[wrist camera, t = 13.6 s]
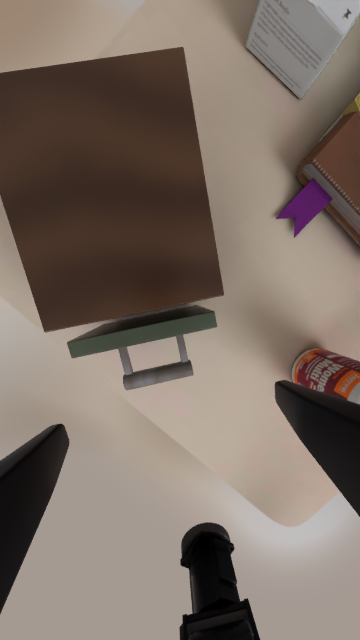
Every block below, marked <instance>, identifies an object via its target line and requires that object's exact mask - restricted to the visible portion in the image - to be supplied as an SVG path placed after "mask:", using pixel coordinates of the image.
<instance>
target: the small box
mask: <svg viewBox="0 0 360 640" xmlns="http://www.w3.org/2000/svg"><path fill="white" fill-rule="evenodd" d="M359 15H360V0H259V2H258V5H257V8H256V12H255V15H254V18H253V21H252V25H251V28H250V31H249V34H248V38H247V41H246V45H245V46H246V48H248V49H249V50H250V51H251V52H252V53H253V54H254V55H255V56H256V57H257V58H258V59H259V60H260V61H261V62H262V63H263V64H264V65H265V66H267V67H268V68H269V69H270V70H271V71H272V72H273V73H274V74H275V75H276V76H277V77H278V78H279V79H280V80H281V81H282V82H283V83H284V84H285V85H286V86H287V87H288V88H289V89H290V90H291V91H293V93H294V94H295V95H296V96H297V97H298V98H299V99H302V97H303V96H304V95H305V93H306V92H307V91H308V89H309V88H310V86H311V85H312V83H313V82H314V81H315V79H316V78H317V76H318V75H319V73H320V72H321V71H322V69H323V68H324V66H325V65H326V64H327V62H328V61H329V59H330V58H331V56H332V55H333V53H334V52H335V50H336V49H337V48H338V46H339V45H340V43H341V42H342V40H343V39H344V37H345V36H346V34H347V33H348V31H349V30H350V28H351V27H352V25H353V24H354V22H355V21H356V19H357V18H358V16H359Z"/></svg>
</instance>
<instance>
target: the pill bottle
mask: <svg viewBox="0 0 360 640" xmlns="http://www.w3.org/2000/svg"><path fill="white" fill-rule="evenodd" d="M292 379H293V382H294V383H296V384H299V385H302V386H305V387H308V388H311V389H314V390H317V391H320V392H324V393H327V394H330V395H333V396H336V397H339V398H342V399H345V400H348V401H351V402H354V403H357V404H360V362H359V361H356V360H353V359H350V358H348V357H345V356H342V355H339V354H336V353H333V352H331V351H328V350H325V349H318V348H316V349H310V350H307V351H305V352H304V353H302V354H301V355H300V356H299V357H298V358H297V359H296V361H295V363H294V365H293V368H292Z"/></svg>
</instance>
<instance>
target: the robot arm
mask: <svg viewBox="0 0 360 640" xmlns="http://www.w3.org/2000/svg"><path fill="white" fill-rule="evenodd" d="M275 399H276V402H277V404H278V406H279V408H280V409H281V411H282V412H283V414H284V415H285V417H286V419H287V420H288V422H289V423H290V425H291V426H292V428H293V430H294V431H295V433H296V434H297V436H298V437H299V439H300V440H301V441H302V443H303V444H304V445H305V447H306V448H307V449H308V450H309V452H310V453H311V454H312V456H313V457H314V458H315V460H316V461H317V462H318V463H319V465H320V466H321V467H322V469H323V470H324V471H325V472H326V474H327V475H328V476H329V478H330V479H331V480H332V481H333V483H334V484H335V485H336V487H337V488H338V489H339V491H340V492H341V493H342V494H343V496H344V497H345V498H346V500H347V501H348V502H349V503H350V505H351V506H352V507H353V509H354V510H355V511H356V512H357V514H358V515H359V516H360V404H357V403H354V402H351V401H348V400H345V399H342V398H339V397H336V396H333V395H330V394H327V393H324V392H320V391H317V390H314V389H311V388H308V387H305V386H302V385H299V384H296V383H293V382H290V381H287V380H282V381H277V382H276V383H275ZM68 447H69V438H68V435H67V432H66V430H65V426H64V425H63V424H56V425H52V426H50V427H48V428H47V429H45V430H44V431H42V432H41V433H40V434H38V435H37V436H35V437H34V438H32V439H31V440H30V441H28V442H27V443H25V444H24V445H23V446H21V447H20V448H18V449H17V450H16V451H14V452H12V453H11V454H10V455H8V456H6V457H5V458H4V459H2V460H1V461H0V613H1V611H2V609H3V606H4V604H5V602H6V600H7V597H8V595H9V593H10V590H11V588H12V586H13V583H14V581H15V579H16V576H17V574H18V572H19V570H20V567H21V565H22V563H23V560H24V558H25V556H26V553H27V551H28V548H29V547H30V544H31V542H32V540H33V537H34V535H35V532H36V530H37V528H38V526H39V523H40V521H41V518H42V517H43V514H44V512H45V510H46V507H47V505H48V503H49V500H50V498H51V496H52V493H53V491H54V488H55V485H56V482H57V479H58V477H59V474H60V471H61V468H62V465H63V462H64V459H65V456H66V453H67V450H68ZM234 549H235V548H234V544H233V543H231V542H228V541H226V540H224V539H221V538H219V537H216V536H214V535H212V534H209V533H207V532H204V531H200V532H199V533H198V535H197V536H196V538H195V539H194V540H193V542H192V543H191V545H190V546H189V548H188V549H187V551H186V552H185V553H184V555H183V556H182V558H181V559H180V565H181V566H183V567H185V568H188V569H189V576H190V588H191V599H192V611H193V614H190V615H187V614H185V615H183V624H182V625H181V626H180V640H260V638H259V634H258V631H257V628H256V624H255V621H254V618H253V614H252V611H251V607H250V604H249V601H248V599H244V601H240V599H239V595H238V590H237V586H236V584H237V580H236V576H235V572H234V568H233V564H232V560H231V556H230V555H231V554H232V552H233V551H234Z"/></svg>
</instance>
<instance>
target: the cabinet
mask: <svg viewBox="0 0 360 640" xmlns="http://www.w3.org/2000/svg"><path fill="white" fill-rule="evenodd" d="M0 196H1V199H2V202H3V205H4V208H5V211H6V214H7V217H8V220H9V223H10V226H11V230H12V233H13V236H14V239H15V242H16V245H17V248H18V251H19V254H20V257H21V261H22V264H23V267H24V270H25V273H26V276H27V279H28V282H29V285H30V288H31V291H32V295H33V298H34V301H35V304H36V307H37V310H38V313H39V316H40V319H41V322H42V326H43V329H44V332H50V331H55V330H60V329H65V328H69V327H74V326H79V325H84V324H89V323H93V322H98V321H103V320H108V319H113V318H117V317H122V316H127V315H132V314H137V313H141V312H146V311H151V310H156V309H161V308H165V307H170V306H175V305H180V304H185V303H190V302H194V301H199V300H204V299H209V298H214V297H218V296H223V295H224V292H223V286H222V279H221V273H220V267H219V261H218V255H217V249H216V243H215V237H214V231H213V225H212V218H211V212H210V206H209V200H208V194H207V188H206V182H205V176H204V170H203V164H202V157H201V151H200V145H199V139H198V133H197V127H196V121H195V115H194V109H193V103H192V97H191V90H190V84H189V78H188V72H187V66H186V60H185V54H184V48H183V47H179V48H172V49H165V50H158V51H151V52H144V53H137V54H130V55H123V56H116V57H109V58H102V59H95V60H88V61H81V62H74V63H67V64H60V65H53V66H47V67H39V68H31V69H25V70H17V71H10V72H3V73H0Z"/></svg>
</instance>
